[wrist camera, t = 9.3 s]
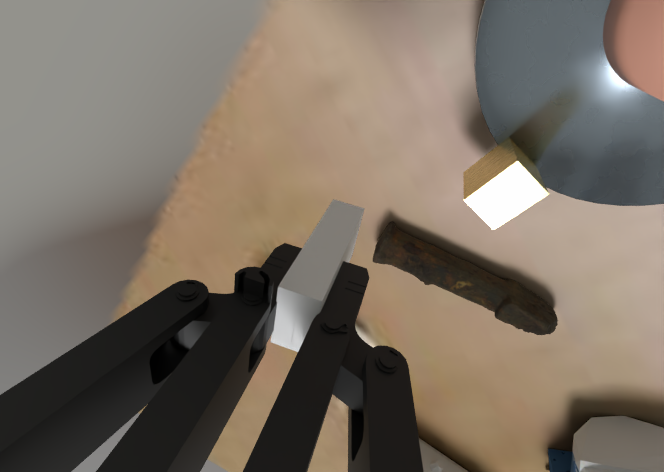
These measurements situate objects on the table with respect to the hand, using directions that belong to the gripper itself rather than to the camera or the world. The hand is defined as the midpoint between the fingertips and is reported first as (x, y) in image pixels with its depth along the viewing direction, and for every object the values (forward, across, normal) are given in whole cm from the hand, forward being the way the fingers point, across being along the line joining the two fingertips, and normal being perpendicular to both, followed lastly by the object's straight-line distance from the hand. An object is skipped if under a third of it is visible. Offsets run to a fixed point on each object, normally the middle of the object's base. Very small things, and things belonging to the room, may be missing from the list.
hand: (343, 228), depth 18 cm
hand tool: (+19, +11, -12) cm, 25 cm away
